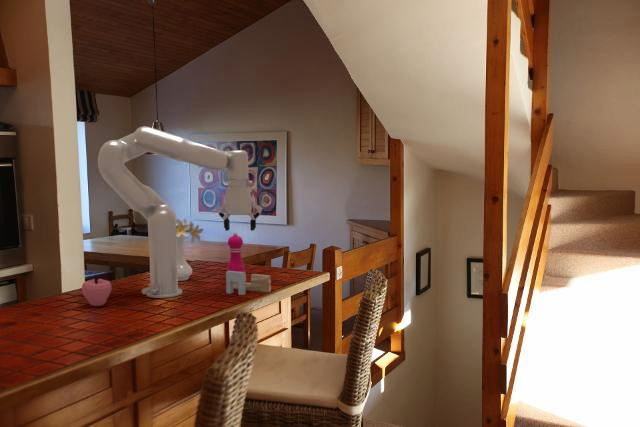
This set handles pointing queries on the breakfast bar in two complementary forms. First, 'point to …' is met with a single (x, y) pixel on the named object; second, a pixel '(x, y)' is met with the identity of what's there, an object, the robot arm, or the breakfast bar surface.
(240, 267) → the pepper mill
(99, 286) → the apple
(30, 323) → the breakfast bar surface
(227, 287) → the notched plate
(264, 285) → the beige notched bar
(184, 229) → the flower vase
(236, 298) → the breakfast bar surface
